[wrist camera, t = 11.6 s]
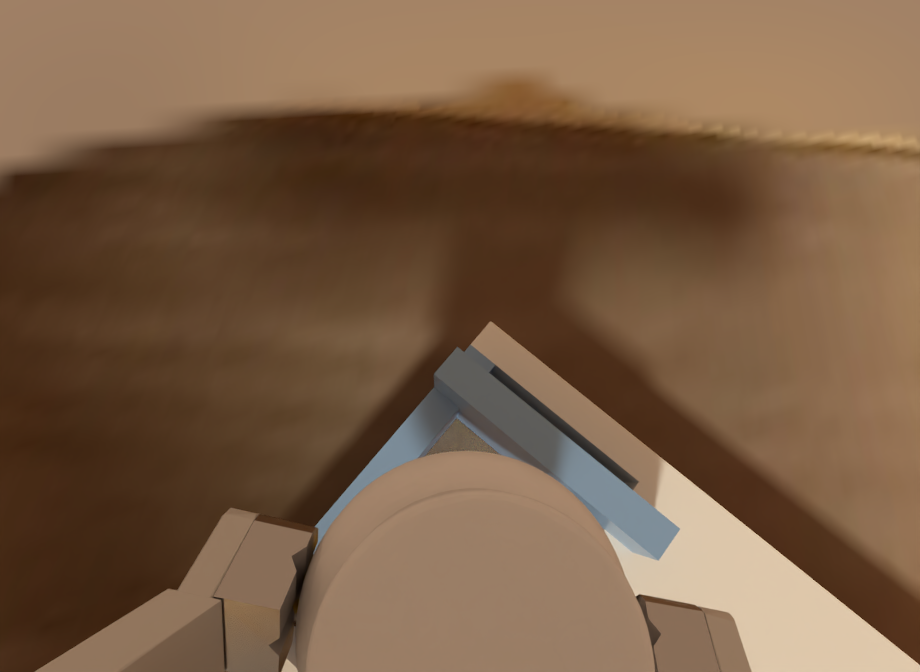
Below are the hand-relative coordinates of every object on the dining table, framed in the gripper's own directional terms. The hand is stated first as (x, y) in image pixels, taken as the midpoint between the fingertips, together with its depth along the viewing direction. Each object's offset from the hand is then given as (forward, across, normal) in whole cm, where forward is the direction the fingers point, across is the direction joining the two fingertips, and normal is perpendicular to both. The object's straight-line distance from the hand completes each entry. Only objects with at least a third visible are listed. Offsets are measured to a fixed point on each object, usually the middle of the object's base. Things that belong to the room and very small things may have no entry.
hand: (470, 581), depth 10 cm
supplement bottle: (+4, 0, +5) cm, 6 cm away
